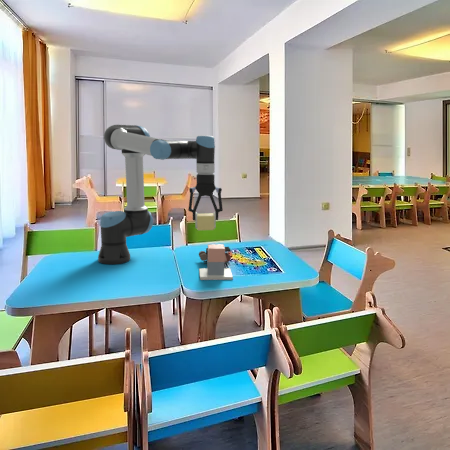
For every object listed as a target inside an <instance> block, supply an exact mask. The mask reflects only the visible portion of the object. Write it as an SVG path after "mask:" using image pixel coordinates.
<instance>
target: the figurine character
mask: <svg viewBox="0 0 450 450" xmlns="http://www.w3.org/2000/svg"><path fill="white" fill-rule="evenodd" d="M224 247H225V262H224V264H225V263H228V262H230V261H231V254H230V252H231V251H232V250H231V249H230V247H229V246H224ZM198 257H199V259H200V260H201V262H202V261H203V264H204V265H207V257H208V247H207V248H205V250H201V251H199V252H198Z"/></svg>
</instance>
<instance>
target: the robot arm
mask: <svg viewBox="0 0 450 450" xmlns="http://www.w3.org/2000/svg"><path fill="white" fill-rule="evenodd" d="M103 133H104V134H103V139H104V143H105V145H106V146H107V147H109V148H110V149H112V150H116V151H121V154H122V156H124V164H125V183H126V184H125V185H126V206H125V207H124V209H123V210H124V211H121V210H116V211H115V210H114V211H108V212H106V213H103V214H102V215H101V217H100V224H99V225H100V238H101V239H100V241H101V246H100V249H99V253H98V257H97V258H98V259H97V261H98V263H101V264H103V265H119V264H120V265H121V264H125V263H128V262H129V261H131V253H130V251H129V247H128V246H127V245H128V244H127V238H128V237H134V236H139V235H144V234H146V233H148V232H150V231H151V229H152V228H153V225H154V218H153V215H152V213H151V212H150V211H149V208H148V207H147V206H146V205H145V184H144V183H145V181H144V179H145V178H144V157H145V155H147V156H152V158H153V159H155V160H162V161H164V160H186V159H188V160H189V159H190V160H191V159H192V160H193V159H194V160H196V161H195V162H196V173H197V174H196V185H195V186H192V187H189V190H188V191H189V199H188V200H189V202H188V212H190V213H192V221H195V224H194V225H195V229H197V214H198V212H197V209H198V206H199V204H200V201H201V198H202V197H209V198H210V201H211V203H212V206H213V209H214V211H213V214H214V229H216V228H217V227H216V225H217V223H216V221H219V213H220V212H223V209H224V208H223V201H222V194H221V193H222V187H217V186H216V185H215V174H214V173H215V151H216V149H215V148H216V144H215V138H214V136H213V135H198V136H196V140H170V139H169V140H167V139H163V138H157V137H151V136H150V133H149V131H148V130H147V129H146V128H145V127H144V126H143V125H142V126H141V125H137V124H136V125H135V124H134V125H130V124H113V125H110V126H108V127H107V128H106V129H105V131H104V132H103ZM196 191H197V193H198V195H197V198H196V200H195V204H194V206H192V205H193V197H194V193H195V192H196ZM214 191H216V193H217V198H218V199H217V200H218V206H217V204H216V200H215V198H214V195H213V193H214ZM192 207H193V208H192Z"/></svg>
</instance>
